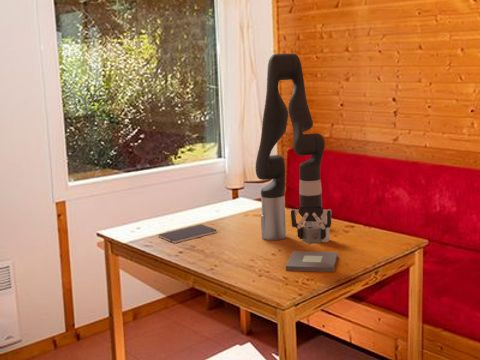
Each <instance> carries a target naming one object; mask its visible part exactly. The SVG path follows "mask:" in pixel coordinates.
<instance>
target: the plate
mask: <svg viewBox="0 0 480 360" xmlns="http://www.w3.org/2000/svg"><path fill="white" fill-rule="evenodd" d="M338 257H339V256H338V252H337V251H336V252H335V251H334V252H333V251H301V250H293V251H292V253H291V255H290V256H289V259H288V261H287V263H286V265H285V271H291V272H292V271H293V272H294V271H295V272H296V271H298V272H320V273H321V272H323V273H325V272H326V273H328V272H329V273H334V271H335V268H336V265H337V260H338Z"/></svg>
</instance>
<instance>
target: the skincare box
mask: <svg viewBox="0 0 480 360" xmlns="http://www.w3.org/2000/svg"><path fill="white" fill-rule="evenodd" d="M321 218H322V219H323V221H324V223H325V224H327V216H325V213H323V214H322V215H321ZM318 221H319V220H318ZM312 225H316V226H318V227H320V228H321V226H320V225H319V224H318V222H317V221H316V222H313V221H312ZM330 240H331V237H330V228H326V237H325V238H324V240H322V242H321V243H328V242H329V241H330Z"/></svg>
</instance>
